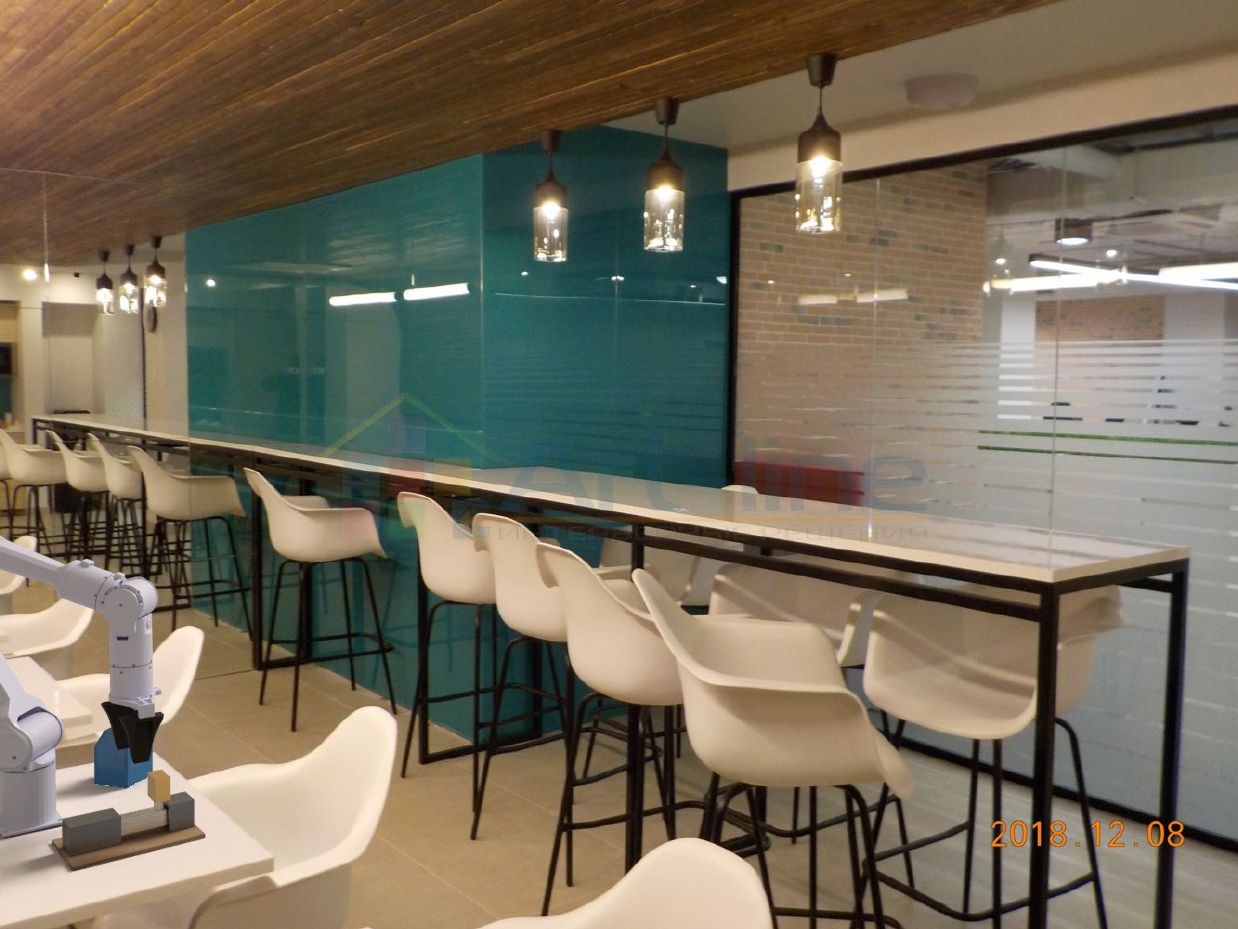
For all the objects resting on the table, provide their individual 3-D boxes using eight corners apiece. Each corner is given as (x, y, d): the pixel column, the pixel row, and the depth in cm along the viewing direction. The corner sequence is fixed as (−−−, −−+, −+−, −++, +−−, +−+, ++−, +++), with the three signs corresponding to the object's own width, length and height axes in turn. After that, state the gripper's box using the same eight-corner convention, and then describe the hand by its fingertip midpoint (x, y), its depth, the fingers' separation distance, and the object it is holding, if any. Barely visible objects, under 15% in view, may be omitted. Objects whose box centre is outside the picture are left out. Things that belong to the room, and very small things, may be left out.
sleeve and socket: (62, 847, 144) (62, 818, 144) (185, 818, 155) (185, 791, 155) (69, 857, 141) (69, 828, 141) (194, 826, 152) (194, 799, 152)
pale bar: (106, 831, 148) (105, 781, 147) (178, 814, 154) (178, 766, 154) (113, 839, 145) (113, 788, 145) (187, 821, 152) (187, 773, 151)
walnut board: (52, 843, 147) (51, 839, 147) (179, 813, 158) (179, 810, 158) (72, 871, 138) (72, 867, 138) (205, 837, 150) (205, 834, 150)
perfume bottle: (128, 788, 167) (127, 714, 167) (94, 784, 169) (93, 711, 168) (152, 775, 173) (152, 703, 173) (119, 771, 175) (119, 700, 174)
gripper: (176, 668, 149) (177, 762, 150) (144, 649, 160) (146, 736, 161) (123, 677, 145) (125, 773, 145) (94, 656, 155) (96, 746, 156)
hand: (132, 755), depth 153 cm, fingers open, 7 cm apart
